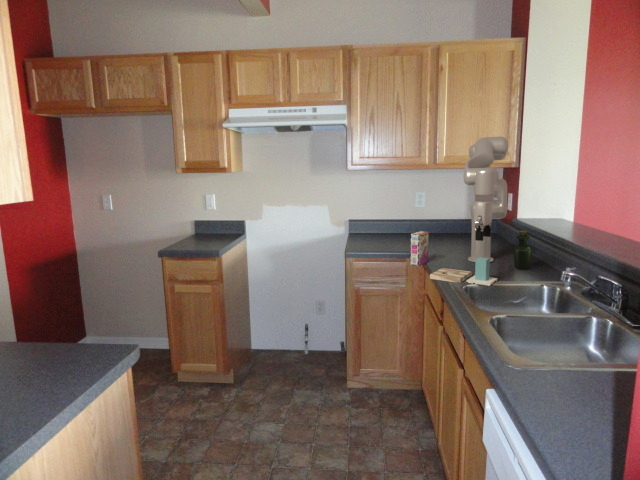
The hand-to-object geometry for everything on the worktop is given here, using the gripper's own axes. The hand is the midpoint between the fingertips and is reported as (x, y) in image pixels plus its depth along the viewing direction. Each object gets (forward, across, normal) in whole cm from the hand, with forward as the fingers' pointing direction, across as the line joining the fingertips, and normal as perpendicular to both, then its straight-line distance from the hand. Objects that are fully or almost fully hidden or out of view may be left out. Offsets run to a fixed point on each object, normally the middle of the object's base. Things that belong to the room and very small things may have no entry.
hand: (483, 238), depth 188 cm
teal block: (+18, +1, 0) cm, 18 cm away
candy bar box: (+20, -17, -38) cm, 46 cm away
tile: (+19, +1, 0) cm, 19 cm away
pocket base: (+19, +1, -14) cm, 23 cm away
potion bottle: (+20, -32, +8) cm, 39 cm away
